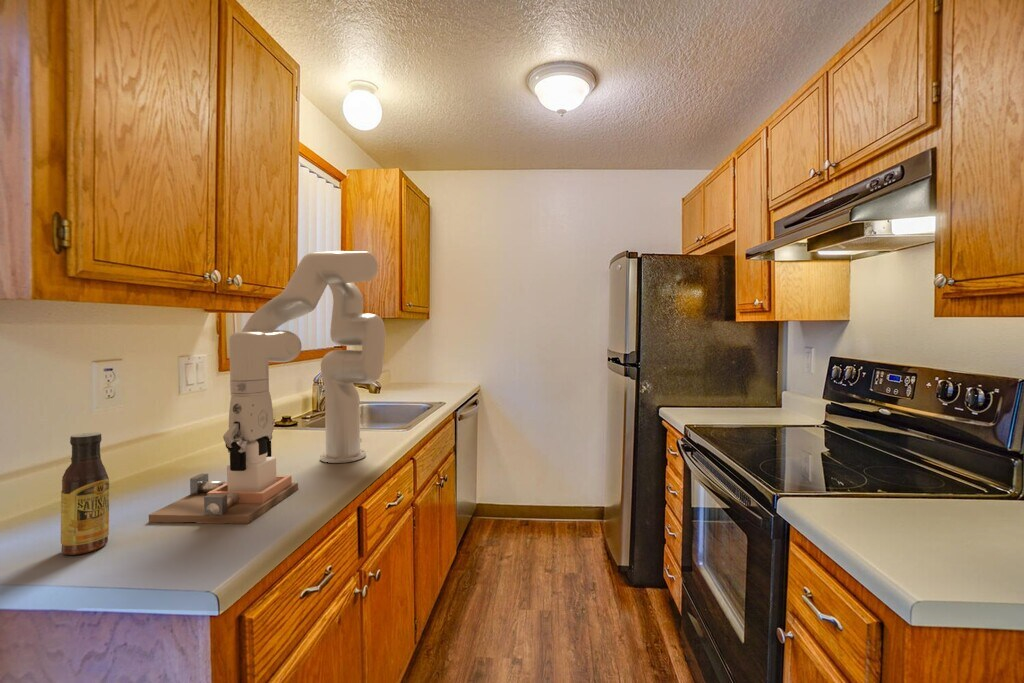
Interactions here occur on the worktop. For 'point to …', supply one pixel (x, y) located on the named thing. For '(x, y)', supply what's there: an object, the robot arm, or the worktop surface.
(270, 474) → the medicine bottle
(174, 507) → the square clamping fixture
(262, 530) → the worktop surface
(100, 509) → the sauce bottle
